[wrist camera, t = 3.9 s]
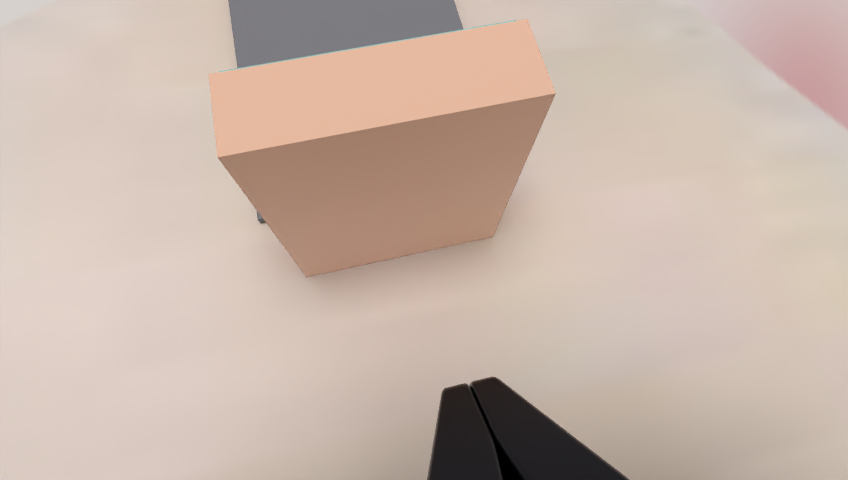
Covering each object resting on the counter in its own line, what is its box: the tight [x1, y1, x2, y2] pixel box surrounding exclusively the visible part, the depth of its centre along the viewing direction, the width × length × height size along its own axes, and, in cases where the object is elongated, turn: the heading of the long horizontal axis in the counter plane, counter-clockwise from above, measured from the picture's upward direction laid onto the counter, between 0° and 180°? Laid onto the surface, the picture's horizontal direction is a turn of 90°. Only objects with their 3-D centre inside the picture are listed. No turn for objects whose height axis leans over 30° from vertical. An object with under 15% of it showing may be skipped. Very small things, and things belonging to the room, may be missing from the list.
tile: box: [209, 19, 556, 277], centre depth 17 cm, size 2×8×10 cm, turn 103°
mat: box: [229, 0, 463, 223], centre depth 24 cm, size 13×11×1 cm
